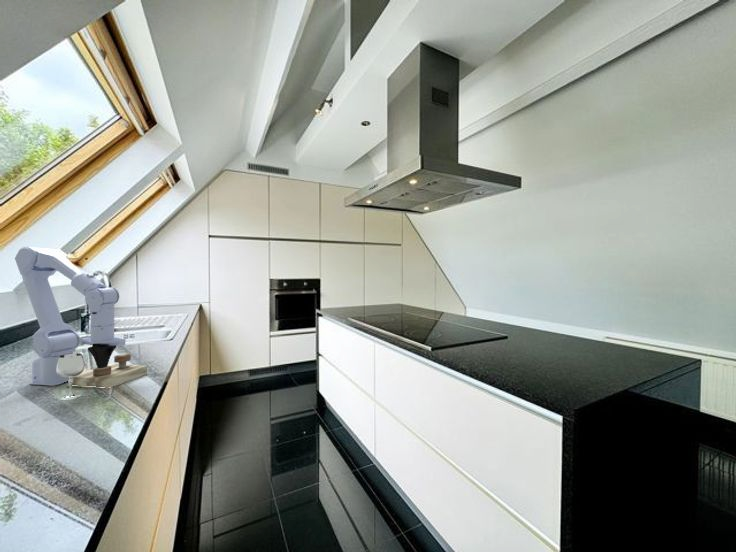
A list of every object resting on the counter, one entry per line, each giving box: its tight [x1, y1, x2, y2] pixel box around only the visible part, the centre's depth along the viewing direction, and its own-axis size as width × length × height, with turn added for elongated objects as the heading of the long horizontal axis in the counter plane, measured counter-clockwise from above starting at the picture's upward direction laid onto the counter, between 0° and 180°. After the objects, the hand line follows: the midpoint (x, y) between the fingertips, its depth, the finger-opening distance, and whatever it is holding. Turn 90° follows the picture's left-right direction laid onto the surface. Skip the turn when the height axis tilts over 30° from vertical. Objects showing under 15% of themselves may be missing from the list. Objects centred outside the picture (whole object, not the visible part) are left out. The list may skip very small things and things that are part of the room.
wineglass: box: [56, 352, 86, 398], centre depth 87 cm, size 6×6×12 cm
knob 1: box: [92, 366, 111, 376], centre depth 97 cm, size 4×4×5 cm
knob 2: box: [113, 353, 132, 369], centre depth 104 cm, size 4×4×5 cm
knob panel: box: [72, 363, 148, 389], centre depth 101 cm, size 14×14×3 cm
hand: (102, 367), depth 97 cm, fingers closed, pressing on knob 1
